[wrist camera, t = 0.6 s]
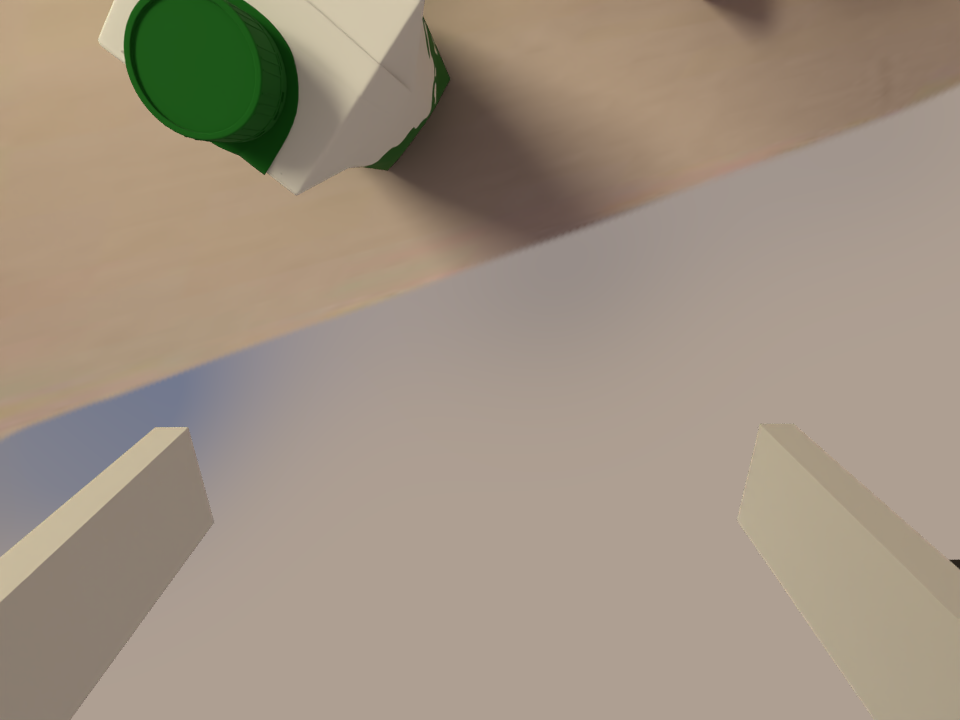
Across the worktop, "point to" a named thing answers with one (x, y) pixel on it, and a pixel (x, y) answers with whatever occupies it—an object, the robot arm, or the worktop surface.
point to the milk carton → (284, 78)
